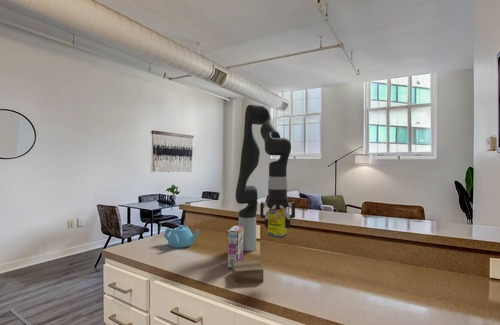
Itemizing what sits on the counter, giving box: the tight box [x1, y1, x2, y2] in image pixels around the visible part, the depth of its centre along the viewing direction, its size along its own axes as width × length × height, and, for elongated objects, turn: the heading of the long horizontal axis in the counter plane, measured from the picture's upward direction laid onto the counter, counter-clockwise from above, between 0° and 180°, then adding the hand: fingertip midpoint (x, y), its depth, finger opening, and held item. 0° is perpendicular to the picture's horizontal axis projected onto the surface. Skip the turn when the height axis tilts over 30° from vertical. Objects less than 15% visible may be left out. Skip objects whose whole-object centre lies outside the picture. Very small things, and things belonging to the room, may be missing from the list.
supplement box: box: [267, 208, 288, 239], centre depth 117 cm, size 6×6×11 cm
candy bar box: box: [226, 225, 244, 269], centre depth 131 cm, size 11×5×16 cm, turn 168°
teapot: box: [163, 224, 200, 249], centre depth 162 cm, size 15×15×11 cm
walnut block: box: [231, 259, 264, 284], centre depth 117 cm, size 11×11×5 cm
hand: (277, 228), depth 117 cm, fingers closed on supplement box, 7 cm apart
